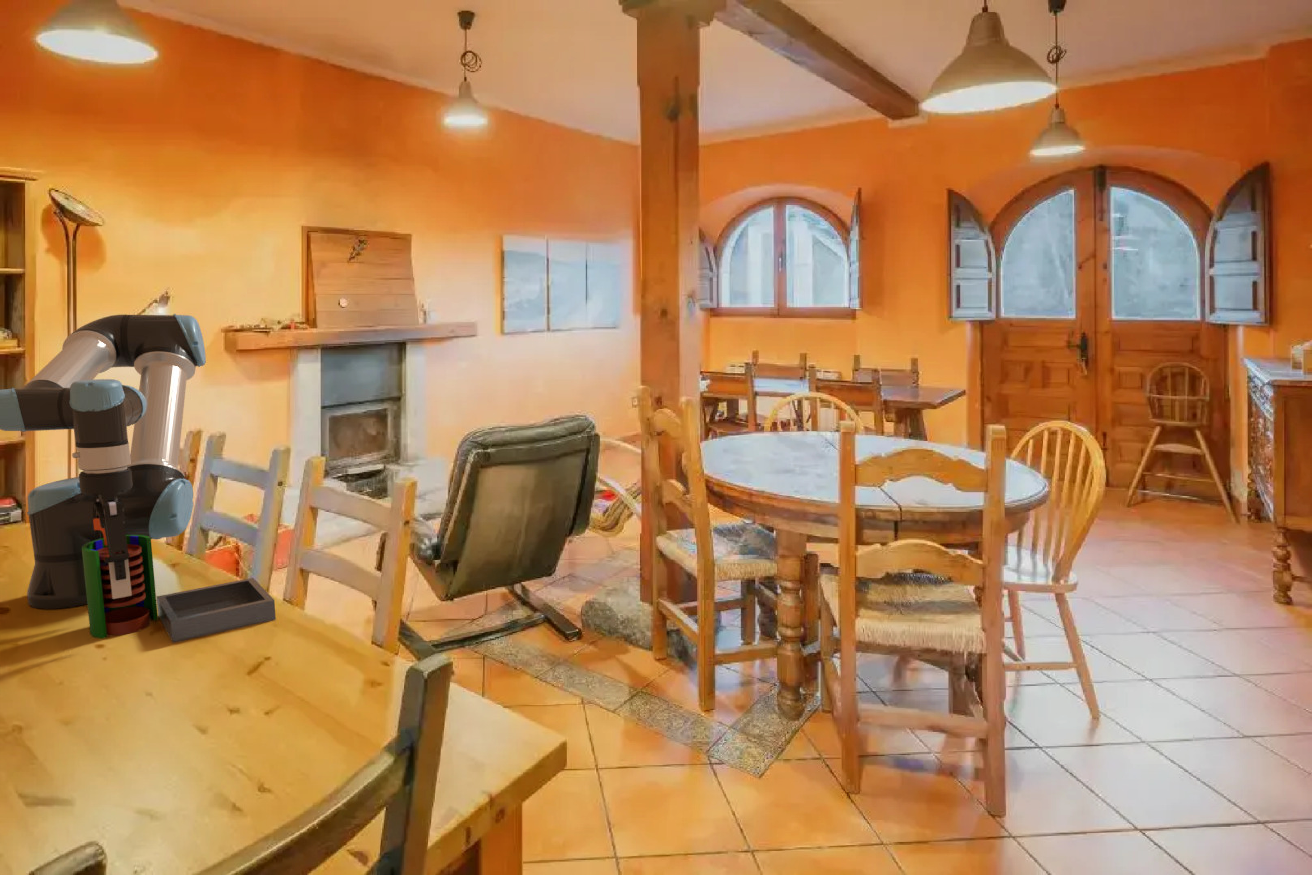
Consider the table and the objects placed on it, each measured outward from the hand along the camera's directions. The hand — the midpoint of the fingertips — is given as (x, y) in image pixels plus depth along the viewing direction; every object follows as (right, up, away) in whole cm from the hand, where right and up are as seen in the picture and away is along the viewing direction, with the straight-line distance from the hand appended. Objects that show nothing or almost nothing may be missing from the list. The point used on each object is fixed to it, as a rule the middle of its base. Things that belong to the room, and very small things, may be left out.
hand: (117, 586), depth 140 cm
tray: (+15, -7, +6) cm, 17 cm away
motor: (0, -8, +1) cm, 8 cm away
